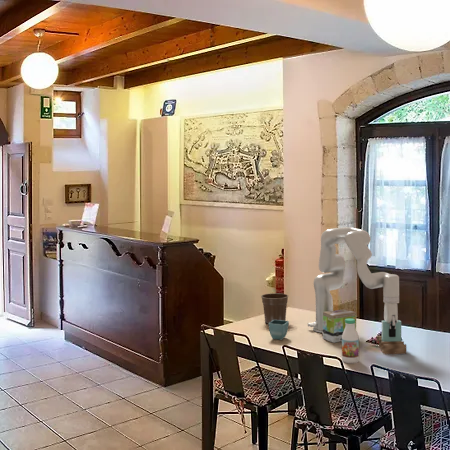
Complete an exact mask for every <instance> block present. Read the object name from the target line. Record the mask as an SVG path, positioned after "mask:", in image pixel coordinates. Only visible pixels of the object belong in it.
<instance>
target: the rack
mask: <svg viewBox="0 0 450 450" xmlns="http://www.w3.org/2000/svg"><path fill="white" fill-rule="evenodd" d="M378 341H379V347H378V348H379V350H380V351H381V353H382V354H383V355H402V354H403V355H407V344H406V343H405V341H403V340H401V341H393V342H383V341H382V335H376V343H377V342H378Z"/></svg>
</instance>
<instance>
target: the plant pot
mask: <svg viewBox="0 0 450 450" xmlns="http://www.w3.org/2000/svg"><path fill="white" fill-rule="evenodd" d="M260 298H261V300H262V304H263V314H264V322H265V324H268V323H270V322H271V321H273V320H282V321H287V320H286V318H287V317H286V316H287V305H288V298H289V295H288V294H285V293H273V292H272V293H271V292H270V293H265V294H262V295H260Z"/></svg>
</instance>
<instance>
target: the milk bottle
mask: <svg viewBox="0 0 450 450" xmlns="http://www.w3.org/2000/svg"><path fill="white" fill-rule="evenodd" d="M345 324H346V326H345V329H344V332H343V335H342V341H341V361H342V362H343V363H346V364H357V363H358V362H359V361H360V360H359V359H360V355H359V353H360V349H359V348H360V347H359V342H360V341H359V339H360V338H359V334H358V332H357V328H356V329H355V319H351V318H348V319H345Z"/></svg>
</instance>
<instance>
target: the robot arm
mask: <svg viewBox="0 0 450 450" xmlns="http://www.w3.org/2000/svg"><path fill="white" fill-rule="evenodd" d="M370 243H371V236H370V233H369V232H367V231H366V230H364V229H360V228H356V227H355V228H354V227H350V226H346V227H344V226H343V227H334V228H330V229H329V228H328V229H326V230H324V231H323V232H322V233H321V235H320V250H319V257H318V270H319V271H320V272H321V273H322V274H318V275H317V276H315V278H314V279H313V288H314V294H315V320H314V322H307V327H309V328H312V329H313V332H317V333H322V334H323V312H327V311H334V305H333V304H334V303H333V301H334V299H333V295H332V294H331V291H334V290H338V289H340V288H341V287H342V286H343V284H344V278H345V271H346V260H345V258H344V257H343V255H341V254H338V253H337V247H336V245H338V244H346V246H347V247H348V249H349V250H350V252H351V253H352V256H354V258H355V260H356V271H357V274H358V277H359V279H360V280H361V282H362V284H364V285H363V286H365V287H366V288H368V289H371V290H373V289H378V288H383V289H382V291H383V293H382V294H383V295H382V296H383V298H382V299H383V300H382V301H383V303H384V306H383V307H384V308H383V310H384V311H383V319H384V320H385V321H386V322H387V323H389V328H390V329H389V337H396V325H395V323H397V322H398V320H399V319H398V318H399V317H398V315H399V313H398V310H399V309H398V304H399V303H400V276H399V275H397V274H395V273H394V274H393V273H392V274H391V273H388V272H385V271H379V272H373V273H372V272H371V271H370V269H369V267H368V264H367V263H368V261H369V260H370V259H371V257H372V255H373V253H372V251H371V249H370V248H369V246H368V245H370ZM391 322H392V323H391ZM391 324H392V325H391Z"/></svg>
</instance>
